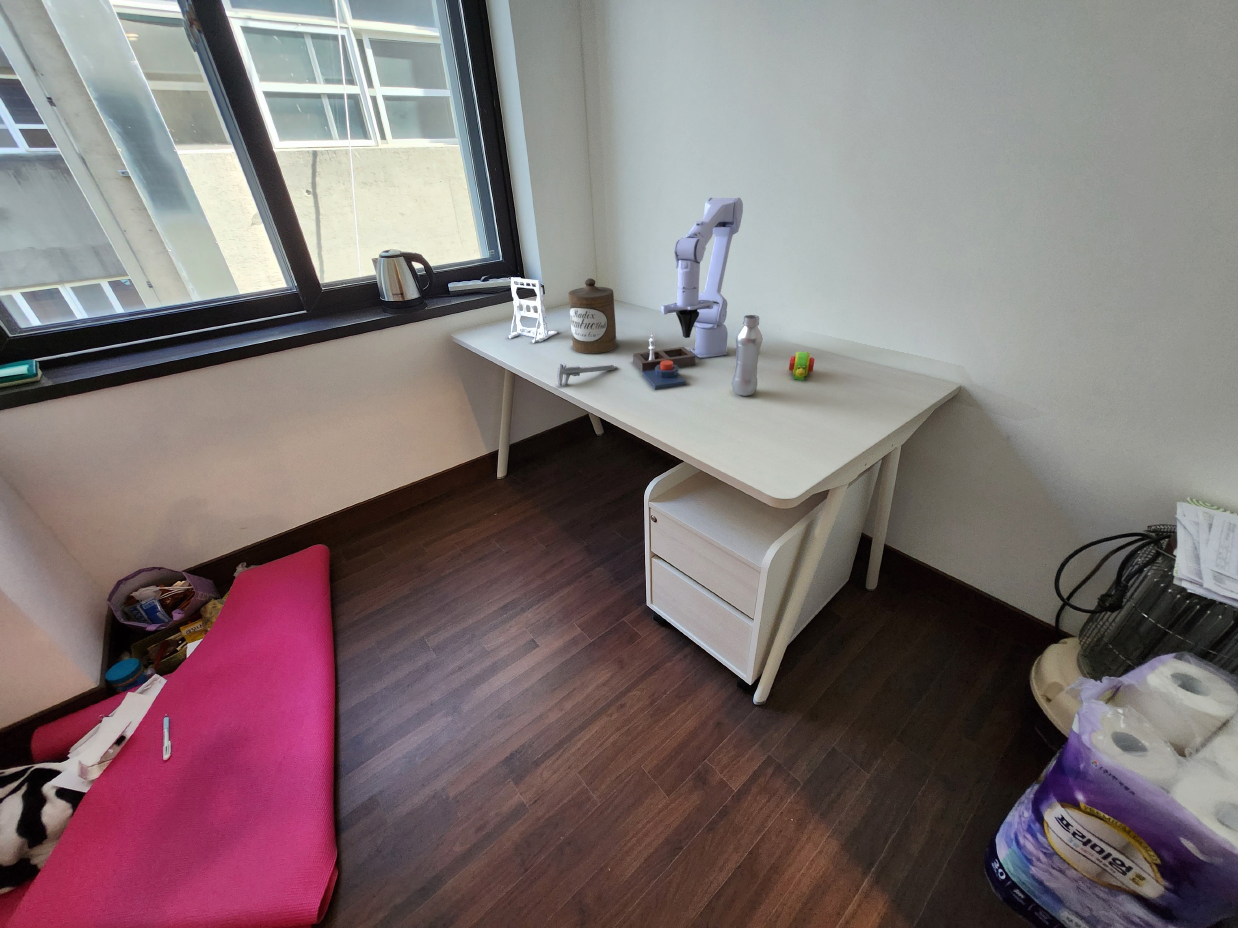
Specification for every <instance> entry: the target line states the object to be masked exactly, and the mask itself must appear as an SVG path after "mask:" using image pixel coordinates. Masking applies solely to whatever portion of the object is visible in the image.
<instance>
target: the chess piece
mask: <svg viewBox="0 0 1238 928" xmlns="http://www.w3.org/2000/svg"><path fill="white" fill-rule="evenodd" d="M655 343H656V339H655V338H654V333H653V332H651V333H650V338H649V339H648V344H649V346H648V350H649V351H650V357H649V360H655V358H654V351H655V349H656V346H655Z"/></svg>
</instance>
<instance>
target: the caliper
mask: <svg viewBox="0 0 1238 928" xmlns="http://www.w3.org/2000/svg"><path fill="white" fill-rule="evenodd" d="M617 368H618V367H617V366H615V365H614V364H611V363H610V364H600V365H590V366H580V365H573V366H567V364H566V363H563V364H562V363H560V364H559V367H558V368H557V375H556V378H557V384H558V385H559V386H561V387H562V386H563V385H564V386H567V385H568V383H569V380H570V377H571V376H573V377H576V376H577V377H580V375H581V374H584V373H597V372H604V371H605V372H607V371H613V370H614V369H617Z"/></svg>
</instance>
